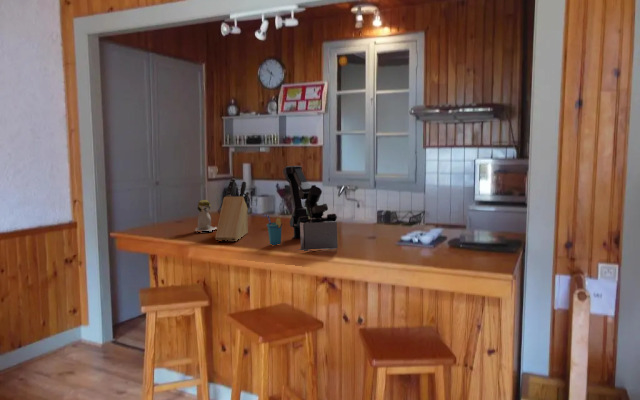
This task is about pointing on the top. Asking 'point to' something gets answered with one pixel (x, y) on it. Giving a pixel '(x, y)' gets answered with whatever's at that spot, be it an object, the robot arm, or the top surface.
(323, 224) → the dark grey flat panel
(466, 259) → the top surface
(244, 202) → the knife block
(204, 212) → the white figurine
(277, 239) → the cup
